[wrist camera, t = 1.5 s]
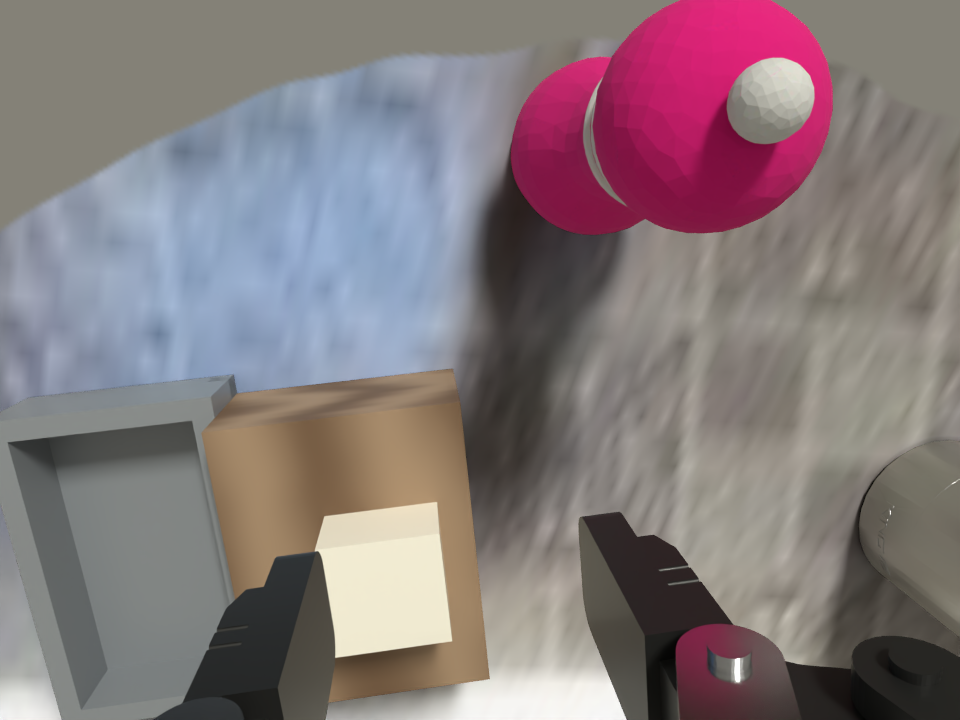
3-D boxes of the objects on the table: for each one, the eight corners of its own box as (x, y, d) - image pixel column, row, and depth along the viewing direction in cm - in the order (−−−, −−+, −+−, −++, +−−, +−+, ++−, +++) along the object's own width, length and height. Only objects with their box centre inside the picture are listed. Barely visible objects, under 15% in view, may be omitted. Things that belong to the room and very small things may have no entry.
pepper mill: (616, 248, 35) (871, 310, 15) (481, 205, 34) (572, 214, 14) (665, 105, 33) (1013, -25, 14) (526, 55, 32) (695, -161, 13)
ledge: (452, 368, 35) (460, 402, 30) (478, 606, 39) (489, 679, 33) (237, 393, 35) (201, 432, 29) (282, 634, 38) (258, 713, 32)
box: (233, 374, 34) (210, 396, 30) (285, 649, 38) (270, 700, 34) (27, 397, 34) (-23, 423, 30) (101, 675, 37) (64, 730, 34)
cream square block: (437, 501, 31) (439, 533, 28) (448, 600, 32) (452, 641, 29) (324, 516, 30) (314, 550, 27) (340, 615, 31) (333, 658, 28)
